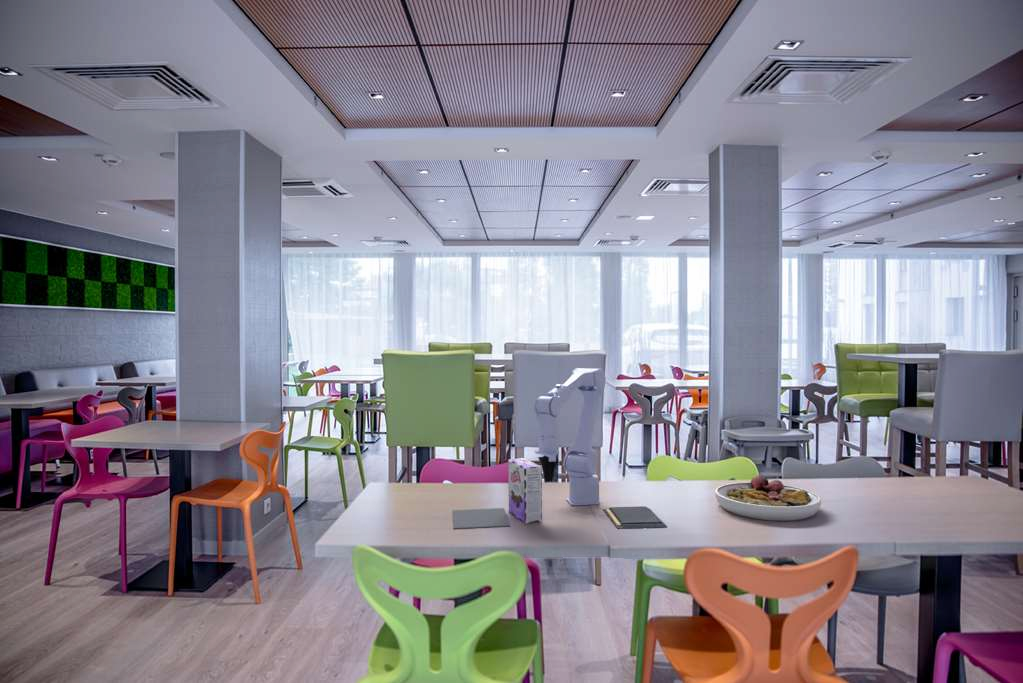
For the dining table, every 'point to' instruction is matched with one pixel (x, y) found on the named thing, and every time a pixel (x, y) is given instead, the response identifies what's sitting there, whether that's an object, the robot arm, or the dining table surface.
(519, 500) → the candy box
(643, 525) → the wallet
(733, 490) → the bowl
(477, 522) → the mat
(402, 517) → the dining table surface
